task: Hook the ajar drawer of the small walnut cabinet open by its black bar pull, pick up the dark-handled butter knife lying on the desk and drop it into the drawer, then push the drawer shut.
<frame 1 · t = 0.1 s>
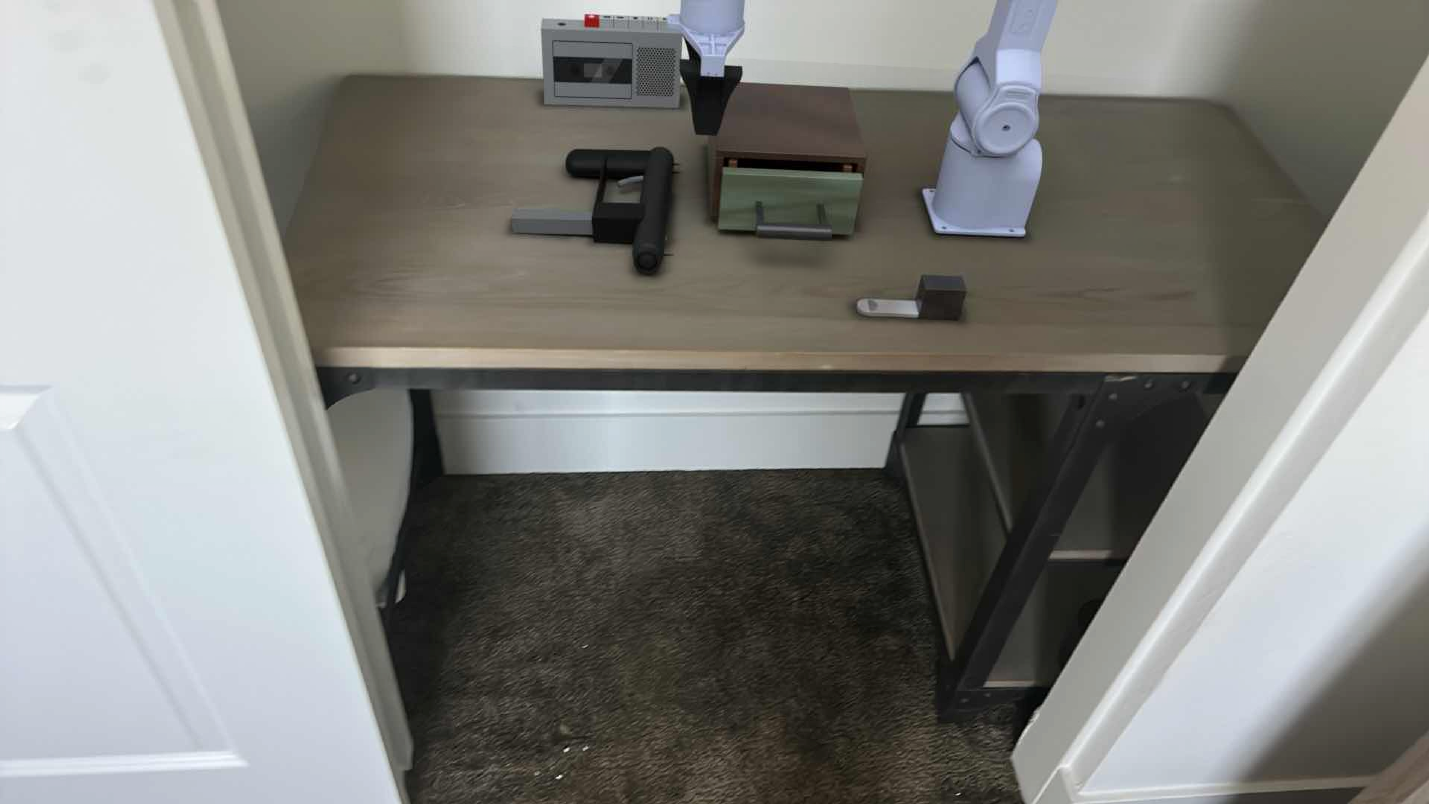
hand: (705, 113, 100), 10 cm above the table, tool pointing down, fingers open, 7 cm apart
cassette player: (612, 102, 122), on the table
drawer: (786, 182, 103), point 4 cm above the table, slide at 1.5 cm
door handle: (599, 217, 104), on the table
cabinet: (777, 186, 110), on the table
knife: (906, 311, 96), on the table
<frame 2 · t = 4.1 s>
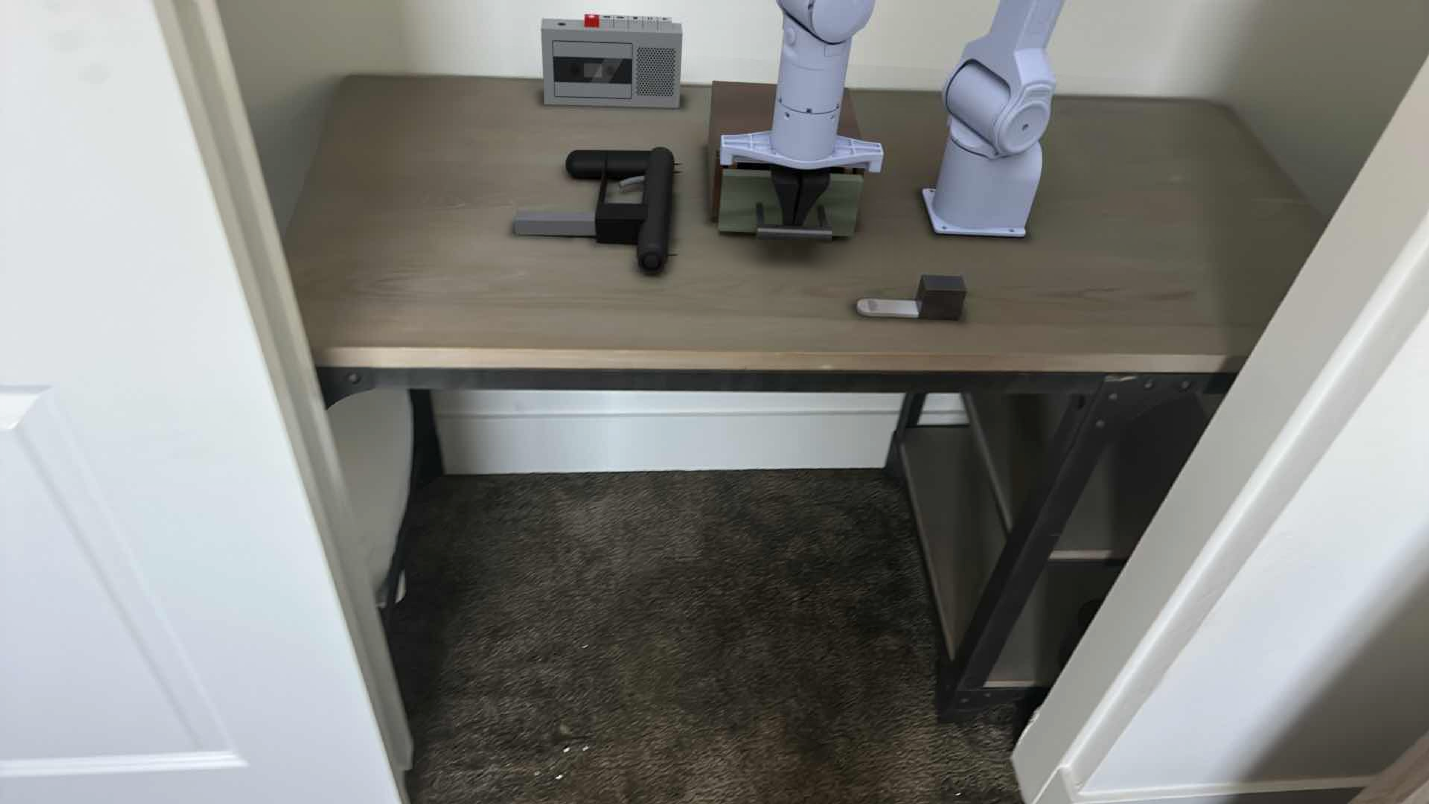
hand: (790, 231, 99), 3 cm above the table, tool pointing down, fingers closed, pressing on drawer
drawer: (786, 184, 103), point 4 cm above the table, slide at 1.8 cm, touching gripper
everything else where it was.
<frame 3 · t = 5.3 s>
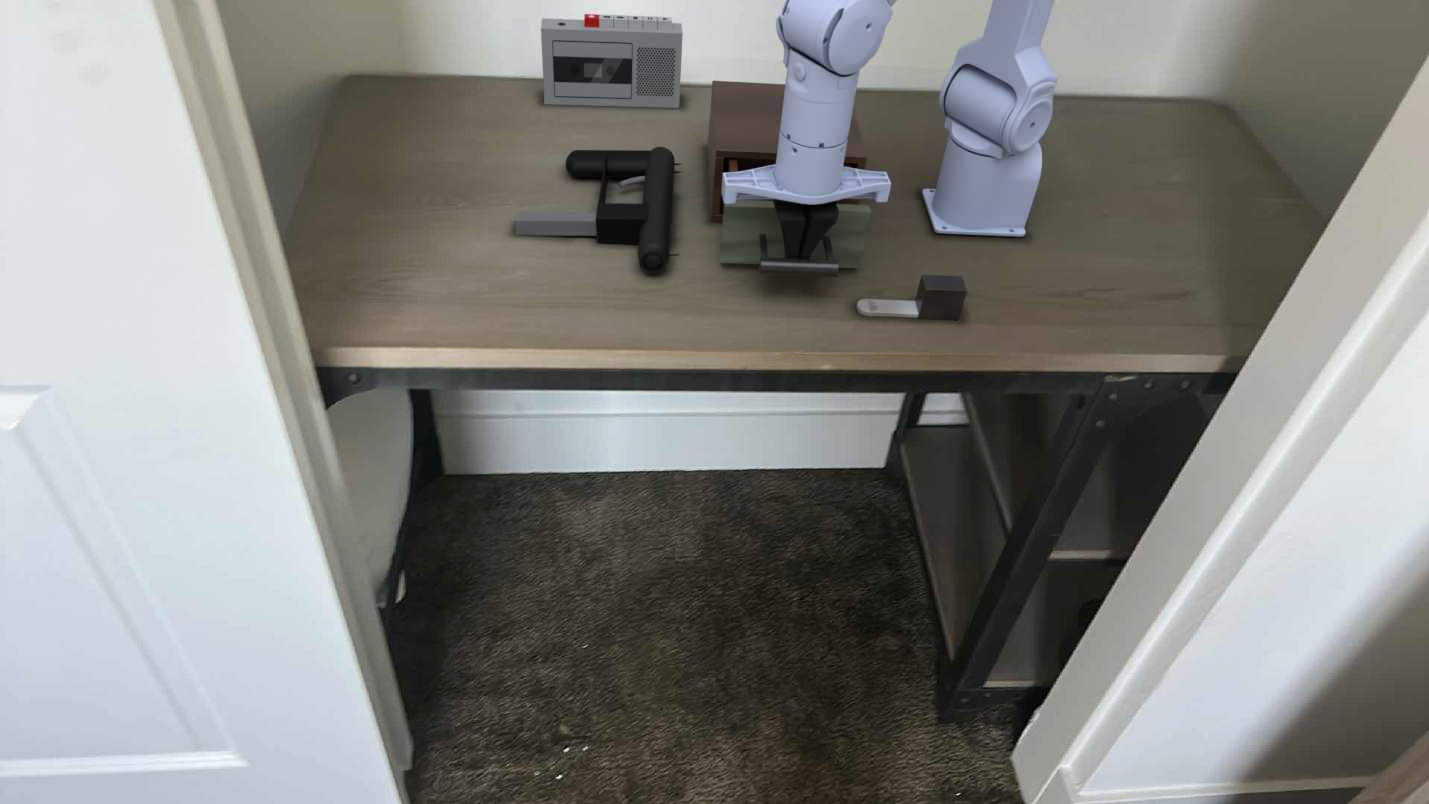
hand: (794, 265, 95), 3 cm above the table, tool pointing down, fingers closed, pressing on drawer
drawer: (790, 213, 99), point 4 cm above the table, slide at 7.1 cm, touching gripper
everything else where it was.
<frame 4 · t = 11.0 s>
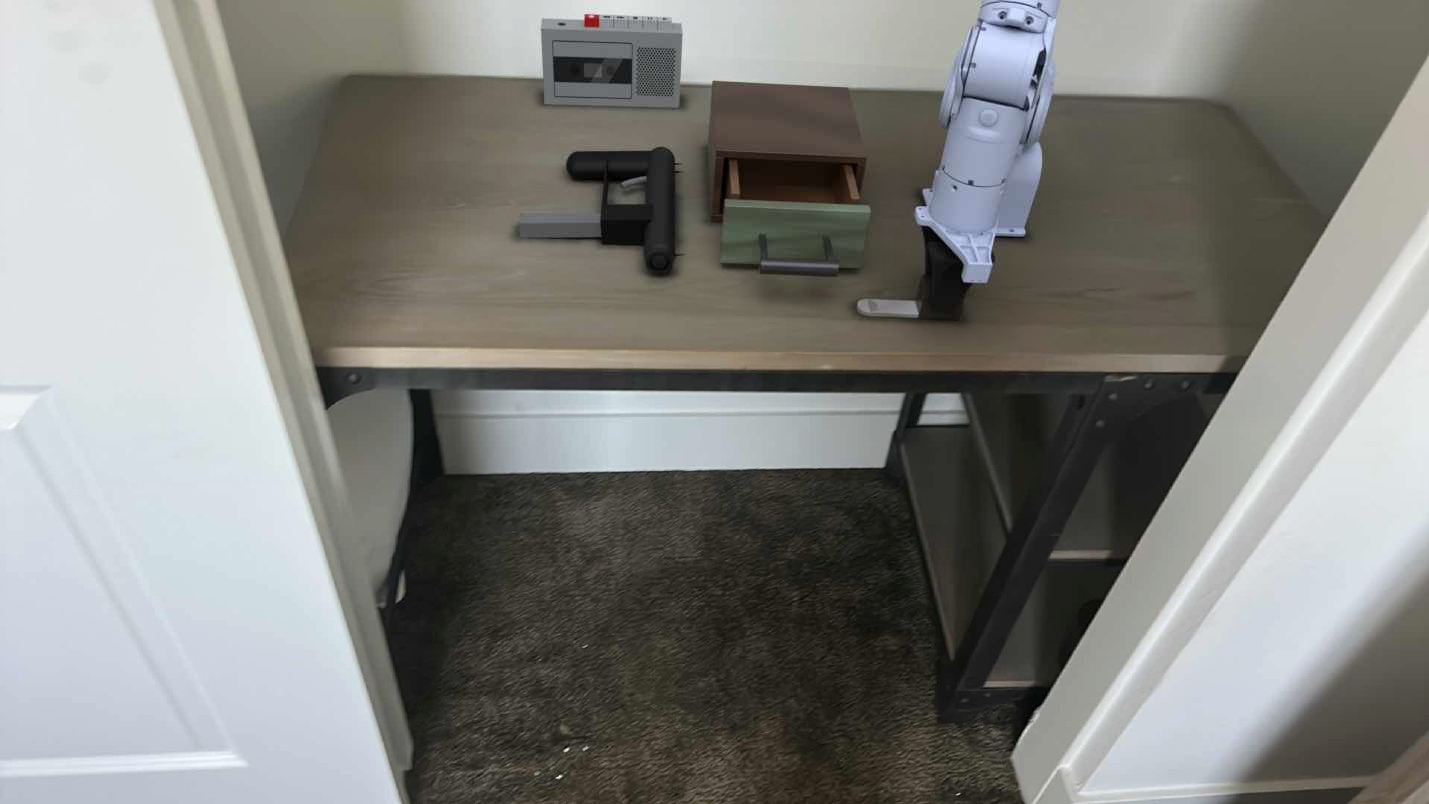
hand: (939, 299, 95), 1 cm above the table, tool pointing down, fingers closed on knife, 2 cm apart
drawer: (790, 213, 99), point 4 cm above the table, slide at 7.1 cm
knife: (906, 311, 96), on the table, touching gripper
everything else where it was.
when the fingers open (6 cm above the table, at t = 15.7 s): knife drops 3 cm, resting on drawer.
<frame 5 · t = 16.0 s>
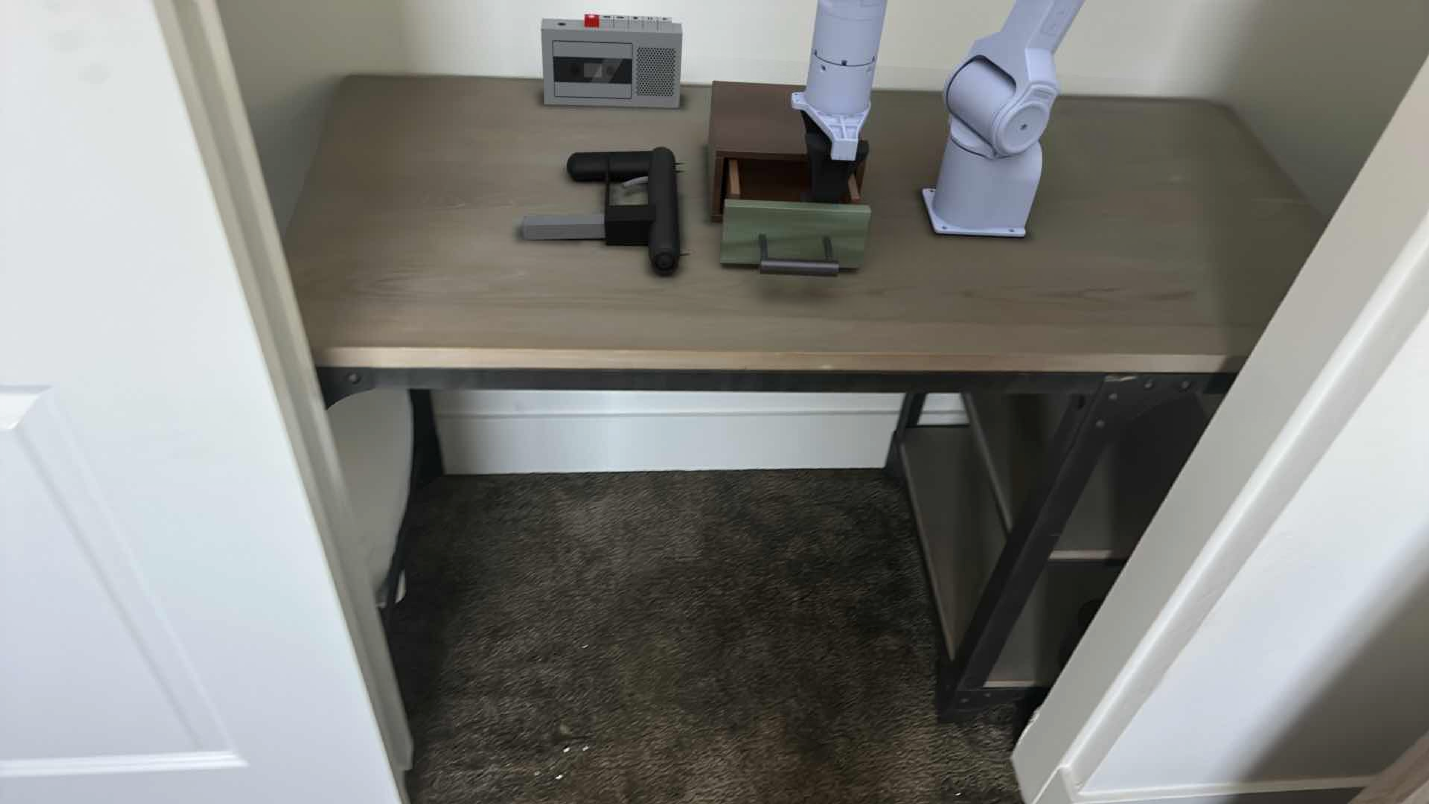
hand: (822, 189, 98), 6 cm above the table, tool pointing down, fingers open, 5 cm apart
drawer: (790, 213, 99), point 4 cm above the table, slide at 7.1 cm, touching knife
knife: (787, 227, 101), point 2 cm above the table, touching drawer
everything else where it was.
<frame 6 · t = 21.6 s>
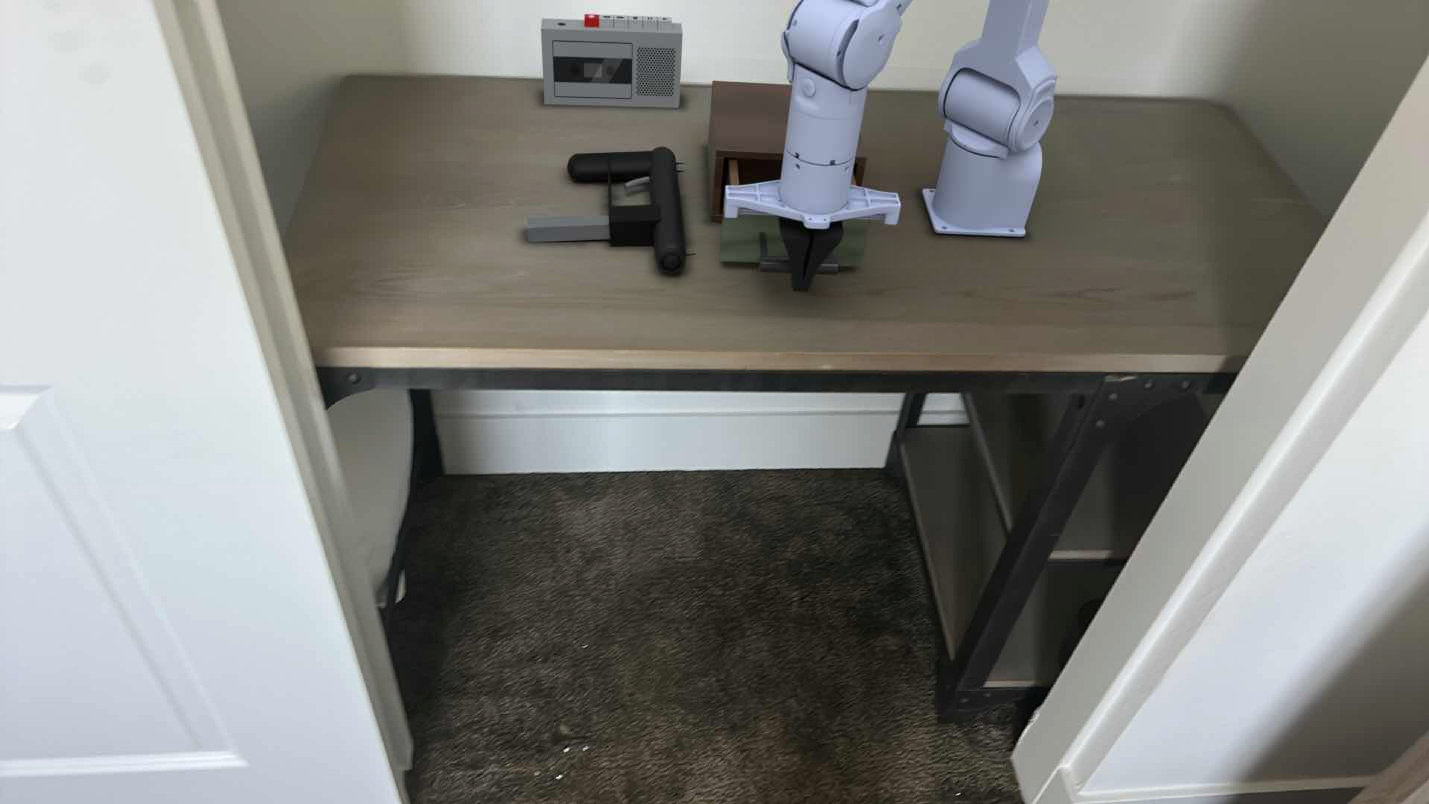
hand: (799, 285, 92), 3 cm above the table, tool pointing down, fingers closed, pressing on drawer
drawer: (790, 212, 99), point 4 cm above the table, slide at 6.9 cm, touching gripper, knife
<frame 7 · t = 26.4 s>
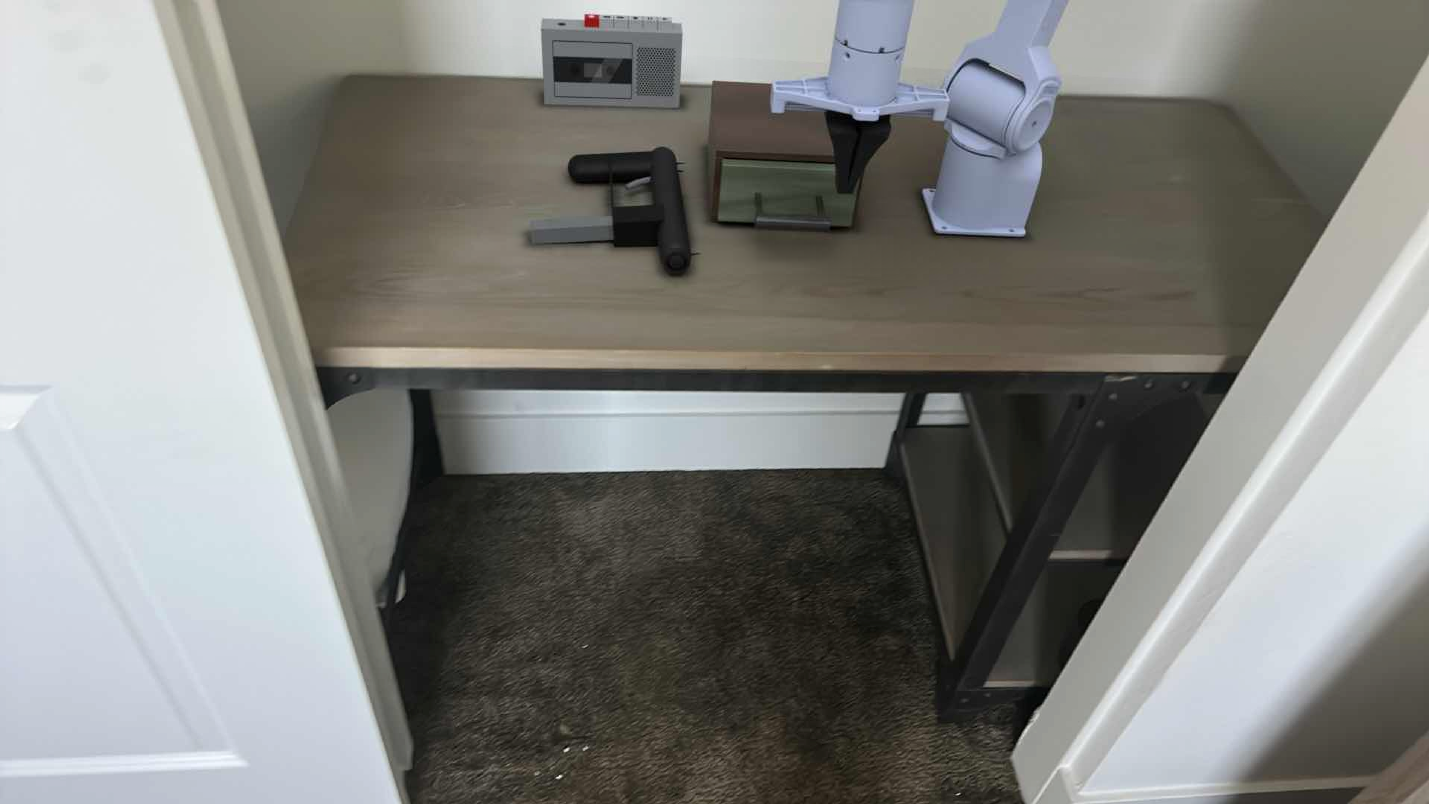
hand: (843, 187, 91), 10 cm above the table, tool pointing down, fingers closed
drawer: (785, 174, 104), point 4 cm above the table, slide at 0.0 cm, touching cabinet, knife
knife: (781, 188, 106), point 2 cm above the table, touching drawer
at the end: knife inside the target area in the cabinet (3.6 cm from its centre), point 2.0 cm above the cabinet's base; drawer slide at 0.0 cm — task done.
